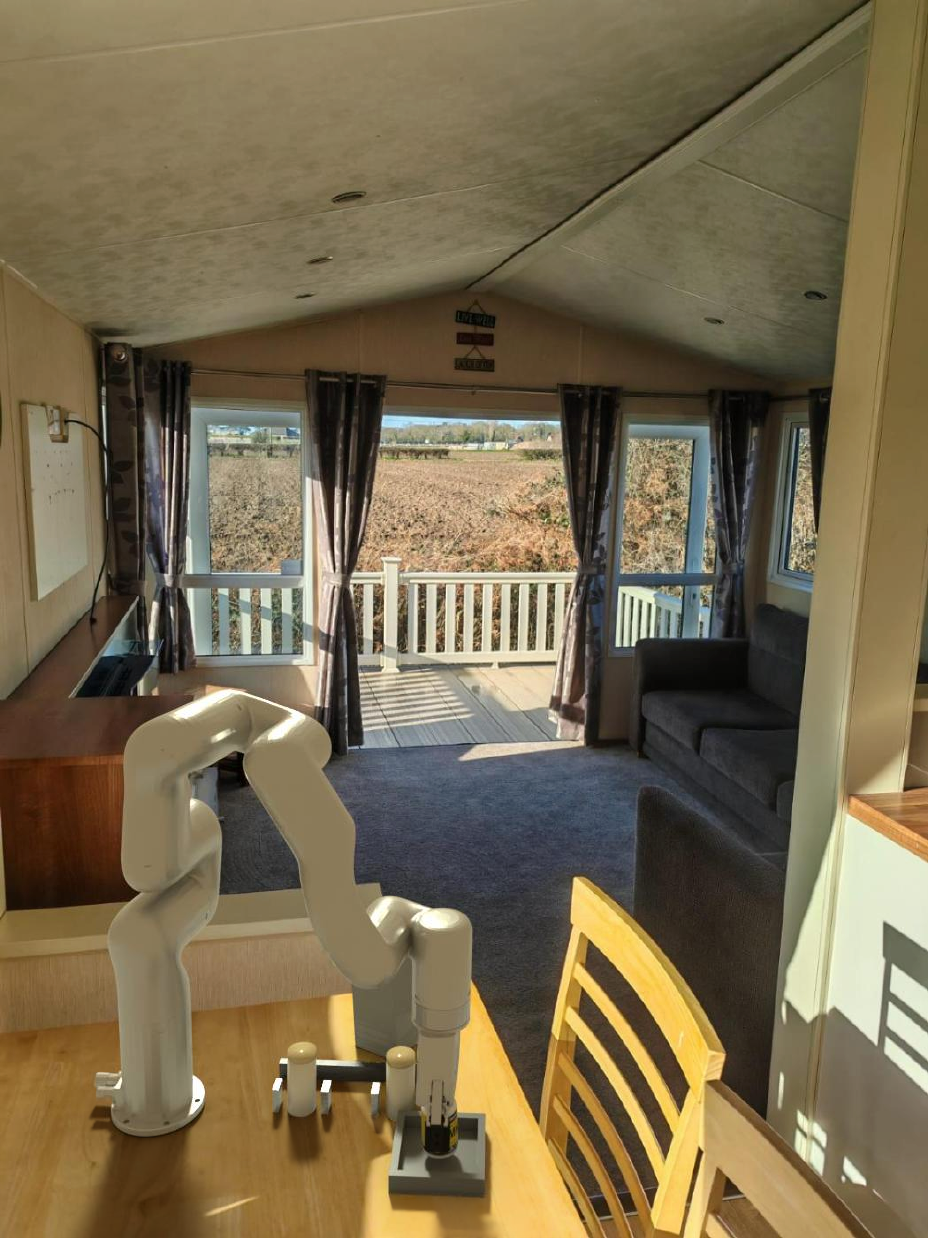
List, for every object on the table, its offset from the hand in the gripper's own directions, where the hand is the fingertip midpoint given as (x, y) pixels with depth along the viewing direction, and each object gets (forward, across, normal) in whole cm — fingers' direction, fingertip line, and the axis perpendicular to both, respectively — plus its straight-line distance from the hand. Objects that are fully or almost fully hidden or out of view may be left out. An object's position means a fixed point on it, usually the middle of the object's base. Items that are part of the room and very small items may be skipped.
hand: (438, 1133), depth 123 cm
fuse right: (+4, -9, -6) cm, 11 cm away
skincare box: (+4, -24, -10) cm, 26 cm away
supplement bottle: (+2, 0, 0) cm, 2 cm away
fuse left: (+4, -9, -20) cm, 22 cm away
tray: (+4, 0, 0) cm, 4 cm away
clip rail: (+4, -12, -13) cm, 18 cm away
